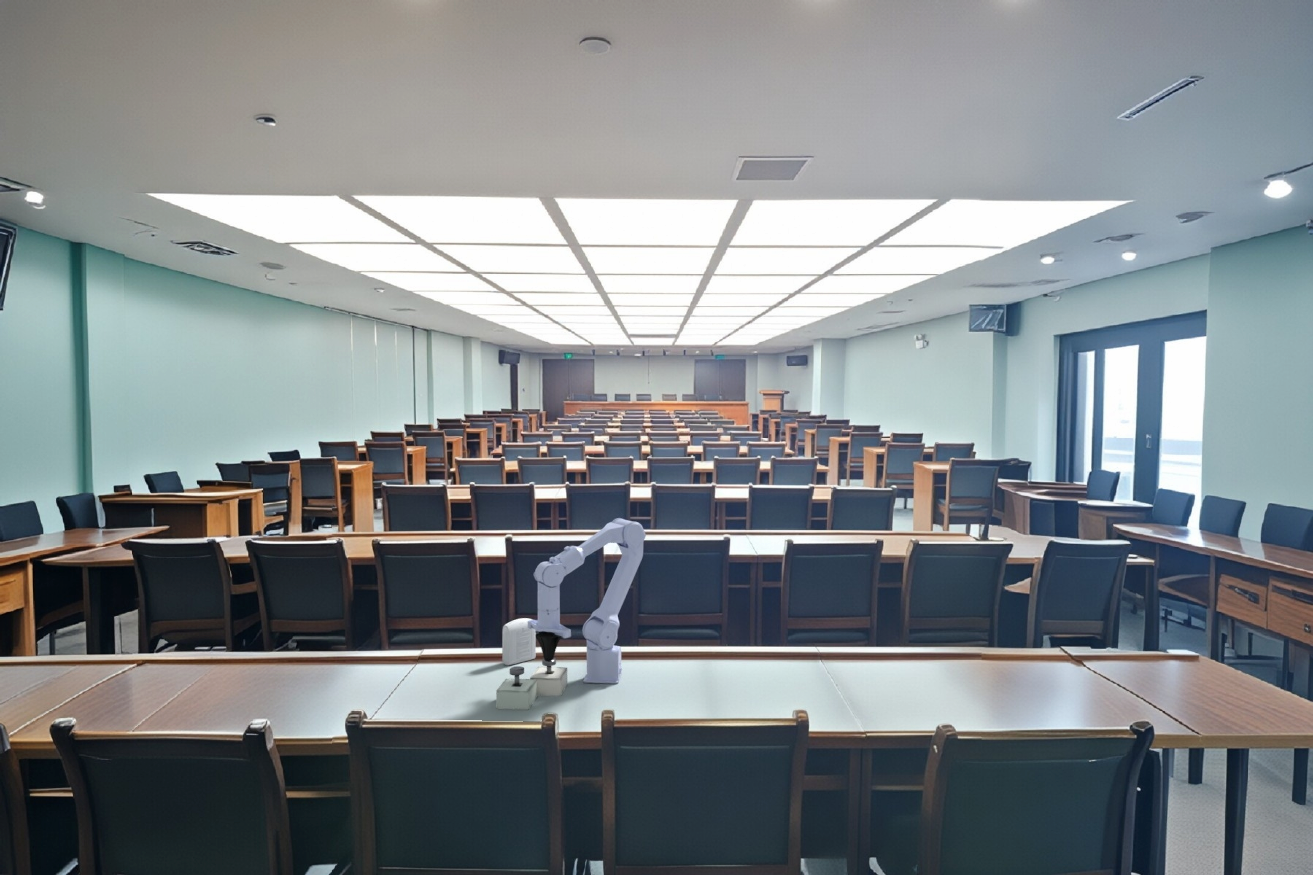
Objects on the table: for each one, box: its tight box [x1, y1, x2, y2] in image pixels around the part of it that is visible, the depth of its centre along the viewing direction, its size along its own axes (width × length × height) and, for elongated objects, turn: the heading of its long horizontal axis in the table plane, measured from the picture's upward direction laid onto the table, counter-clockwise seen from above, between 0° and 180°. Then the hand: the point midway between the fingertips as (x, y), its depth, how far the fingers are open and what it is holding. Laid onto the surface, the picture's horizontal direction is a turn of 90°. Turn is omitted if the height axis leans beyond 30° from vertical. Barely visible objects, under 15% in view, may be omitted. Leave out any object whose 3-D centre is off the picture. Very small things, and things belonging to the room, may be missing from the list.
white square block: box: [529, 666, 568, 697], centre depth 180 cm, size 8×8×4 cm
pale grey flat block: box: [495, 678, 538, 711], centre depth 172 cm, size 8×8×4 cm
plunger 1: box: [509, 665, 525, 687], centre depth 172 cm, size 5×5×5 cm
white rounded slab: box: [501, 617, 537, 666], centre depth 202 cm, size 10×4×12 cm, turn 134°
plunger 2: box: [541, 657, 557, 674], centre depth 180 cm, size 5×5×5 cm
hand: (548, 659), depth 180 cm, fingers closed, pressing on plunger 2
